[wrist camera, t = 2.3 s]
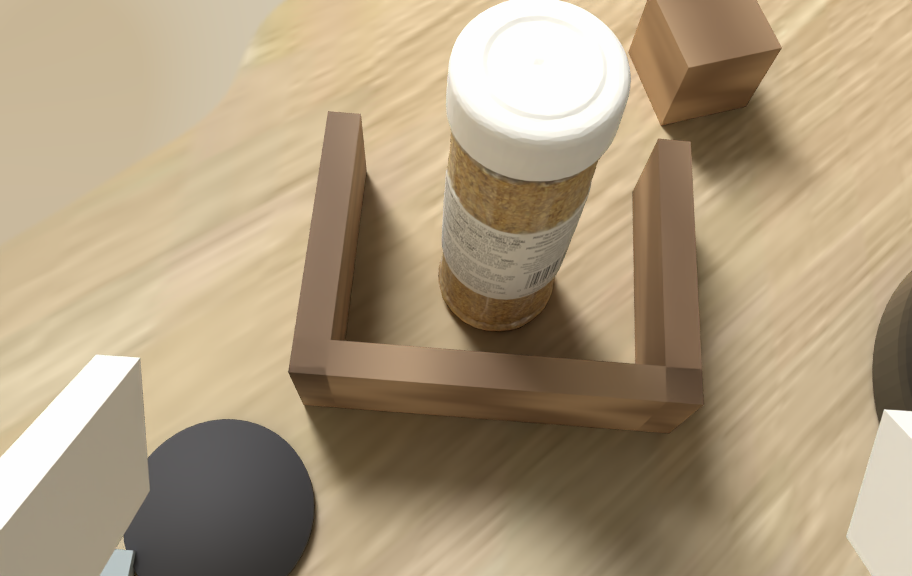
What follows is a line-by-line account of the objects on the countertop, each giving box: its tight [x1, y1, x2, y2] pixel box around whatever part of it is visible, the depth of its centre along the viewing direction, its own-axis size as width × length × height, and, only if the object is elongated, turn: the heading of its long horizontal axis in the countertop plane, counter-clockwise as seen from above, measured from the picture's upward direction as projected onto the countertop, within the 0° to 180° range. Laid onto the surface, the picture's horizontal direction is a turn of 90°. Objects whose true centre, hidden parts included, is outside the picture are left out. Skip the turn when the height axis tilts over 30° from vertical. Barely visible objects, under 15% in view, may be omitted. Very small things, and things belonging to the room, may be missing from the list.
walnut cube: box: [628, 0, 782, 126], centre depth 35 cm, size 4×4×4 cm
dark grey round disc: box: [123, 419, 314, 576], centre depth 29 cm, size 6×6×1 cm
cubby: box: [288, 111, 704, 433], centre depth 31 cm, size 13×10×4 cm
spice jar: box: [438, 0, 631, 331], centre depth 27 cm, size 5×5×14 cm
